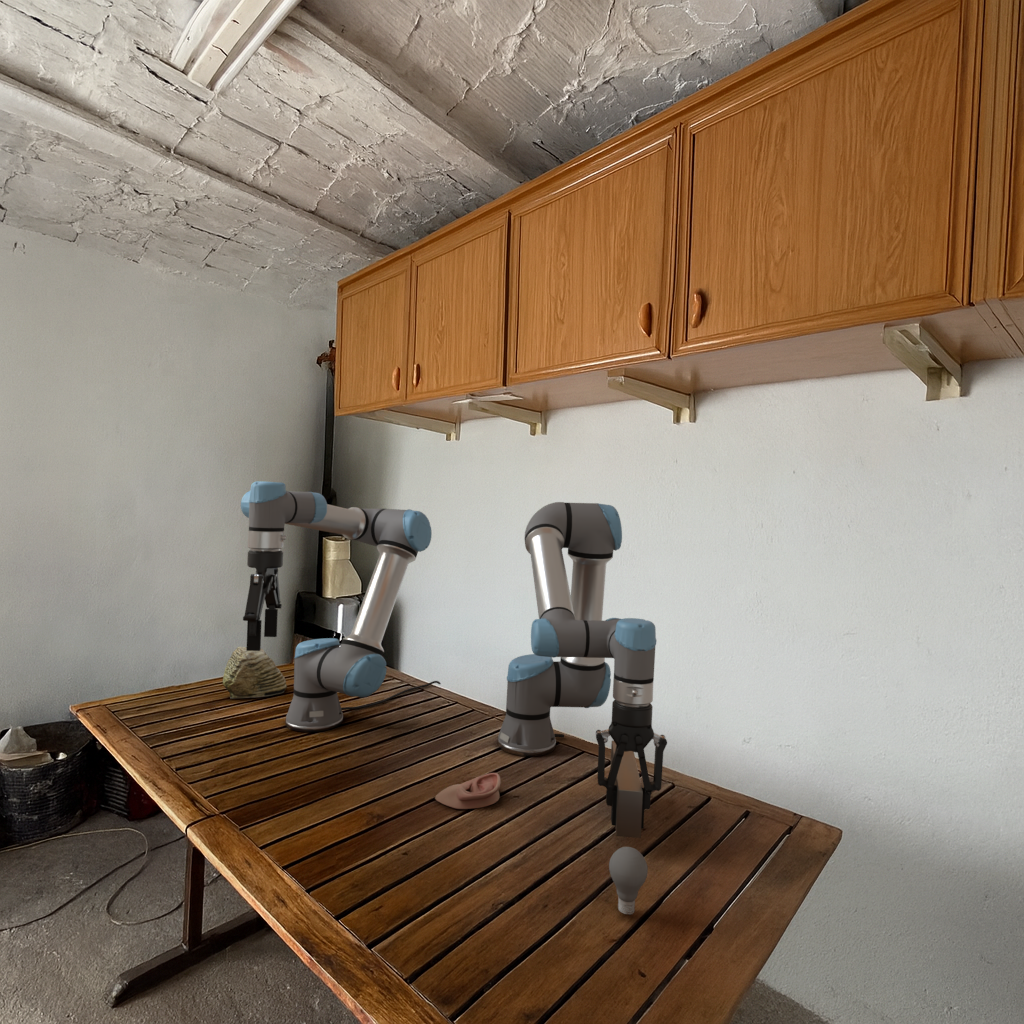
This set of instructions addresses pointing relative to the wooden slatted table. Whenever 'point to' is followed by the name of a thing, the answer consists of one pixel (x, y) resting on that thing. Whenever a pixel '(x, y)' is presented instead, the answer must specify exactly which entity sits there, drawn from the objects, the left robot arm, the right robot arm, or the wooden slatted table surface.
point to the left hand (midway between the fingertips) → (262, 643)
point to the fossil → (252, 675)
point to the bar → (628, 796)
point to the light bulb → (627, 876)
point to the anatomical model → (472, 793)
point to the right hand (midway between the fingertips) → (627, 823)
